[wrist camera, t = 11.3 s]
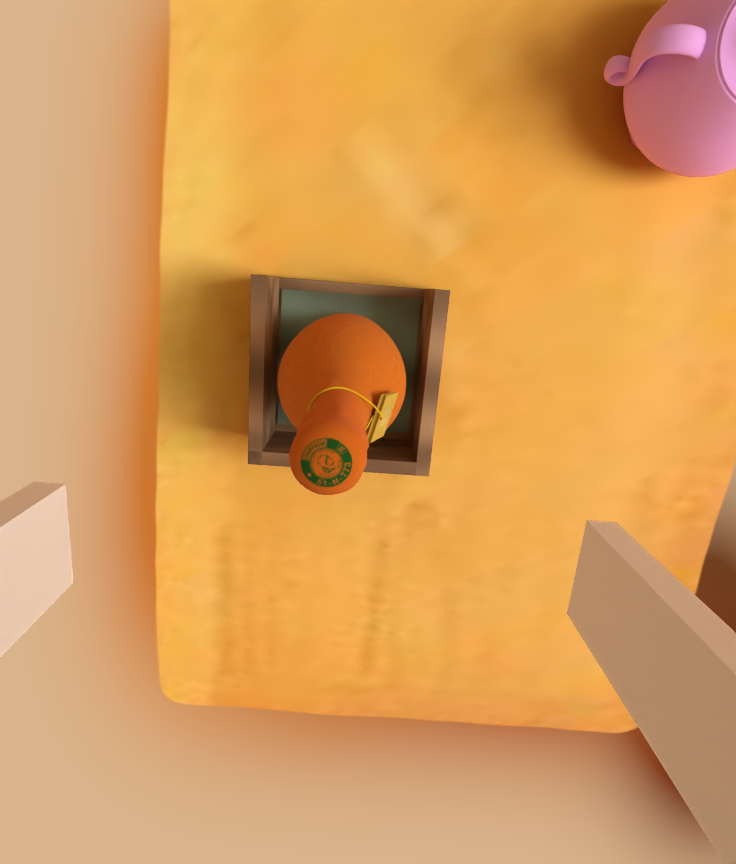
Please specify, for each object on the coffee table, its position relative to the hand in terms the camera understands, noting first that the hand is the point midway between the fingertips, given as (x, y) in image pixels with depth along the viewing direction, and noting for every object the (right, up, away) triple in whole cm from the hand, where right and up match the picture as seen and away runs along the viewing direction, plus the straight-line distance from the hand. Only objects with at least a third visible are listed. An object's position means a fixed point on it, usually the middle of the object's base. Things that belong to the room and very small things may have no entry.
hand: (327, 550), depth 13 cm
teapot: (+30, +33, +33) cm, 55 cm away
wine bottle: (-1, +10, +37) cm, 38 cm away
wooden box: (-1, +10, +38) cm, 40 cm away
